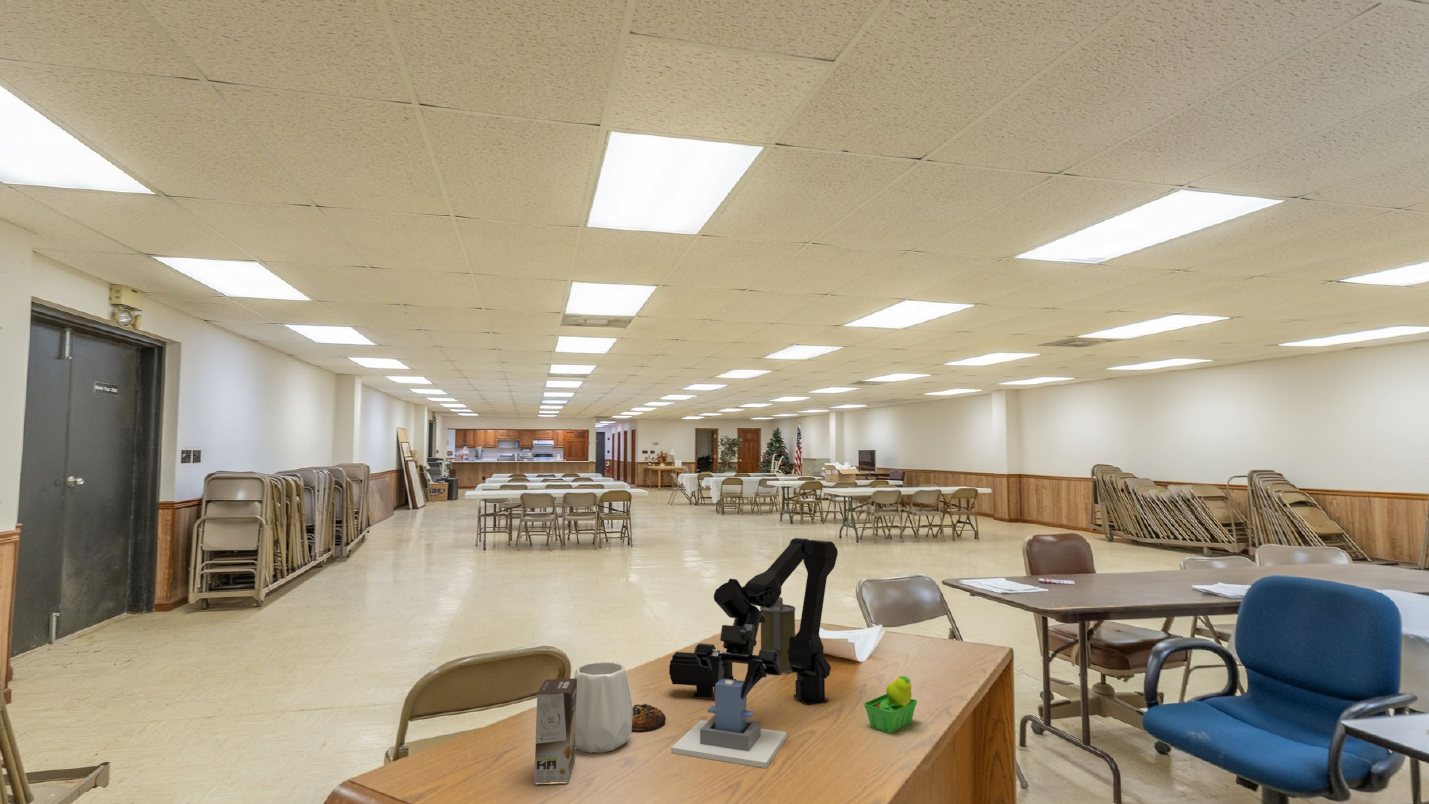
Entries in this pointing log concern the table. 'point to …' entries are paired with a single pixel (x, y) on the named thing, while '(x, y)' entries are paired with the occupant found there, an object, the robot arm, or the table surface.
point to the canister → (778, 630)
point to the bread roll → (647, 718)
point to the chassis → (731, 743)
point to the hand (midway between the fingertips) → (728, 696)
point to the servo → (730, 706)
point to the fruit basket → (892, 707)
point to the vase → (602, 707)
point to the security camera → (695, 674)
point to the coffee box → (555, 730)
